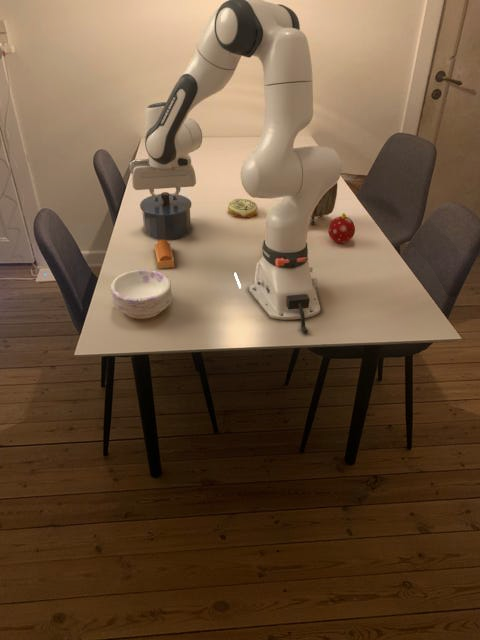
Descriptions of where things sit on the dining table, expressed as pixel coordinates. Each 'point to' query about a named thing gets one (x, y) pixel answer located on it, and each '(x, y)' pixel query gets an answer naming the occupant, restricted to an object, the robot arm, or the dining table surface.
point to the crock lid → (165, 205)
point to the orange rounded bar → (164, 254)
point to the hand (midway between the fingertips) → (165, 200)
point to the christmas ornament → (341, 229)
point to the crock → (167, 225)
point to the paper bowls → (141, 293)
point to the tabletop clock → (325, 204)
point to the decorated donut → (242, 208)
